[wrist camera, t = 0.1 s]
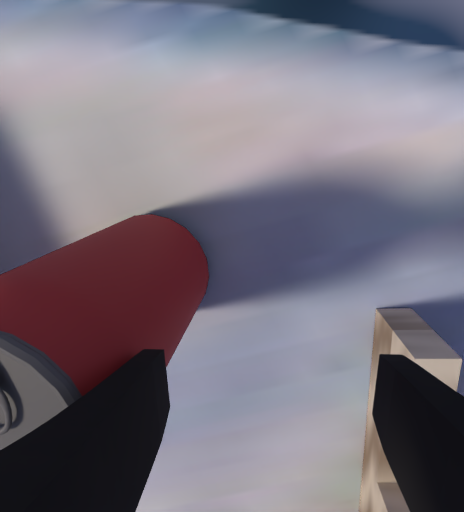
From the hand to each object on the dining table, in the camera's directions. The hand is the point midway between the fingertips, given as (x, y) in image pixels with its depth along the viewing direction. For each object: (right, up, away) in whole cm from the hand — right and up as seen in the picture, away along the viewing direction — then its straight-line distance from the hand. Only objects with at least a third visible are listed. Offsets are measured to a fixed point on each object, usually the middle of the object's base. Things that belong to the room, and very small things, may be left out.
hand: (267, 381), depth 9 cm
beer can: (-5, +3, +10) cm, 12 cm away
